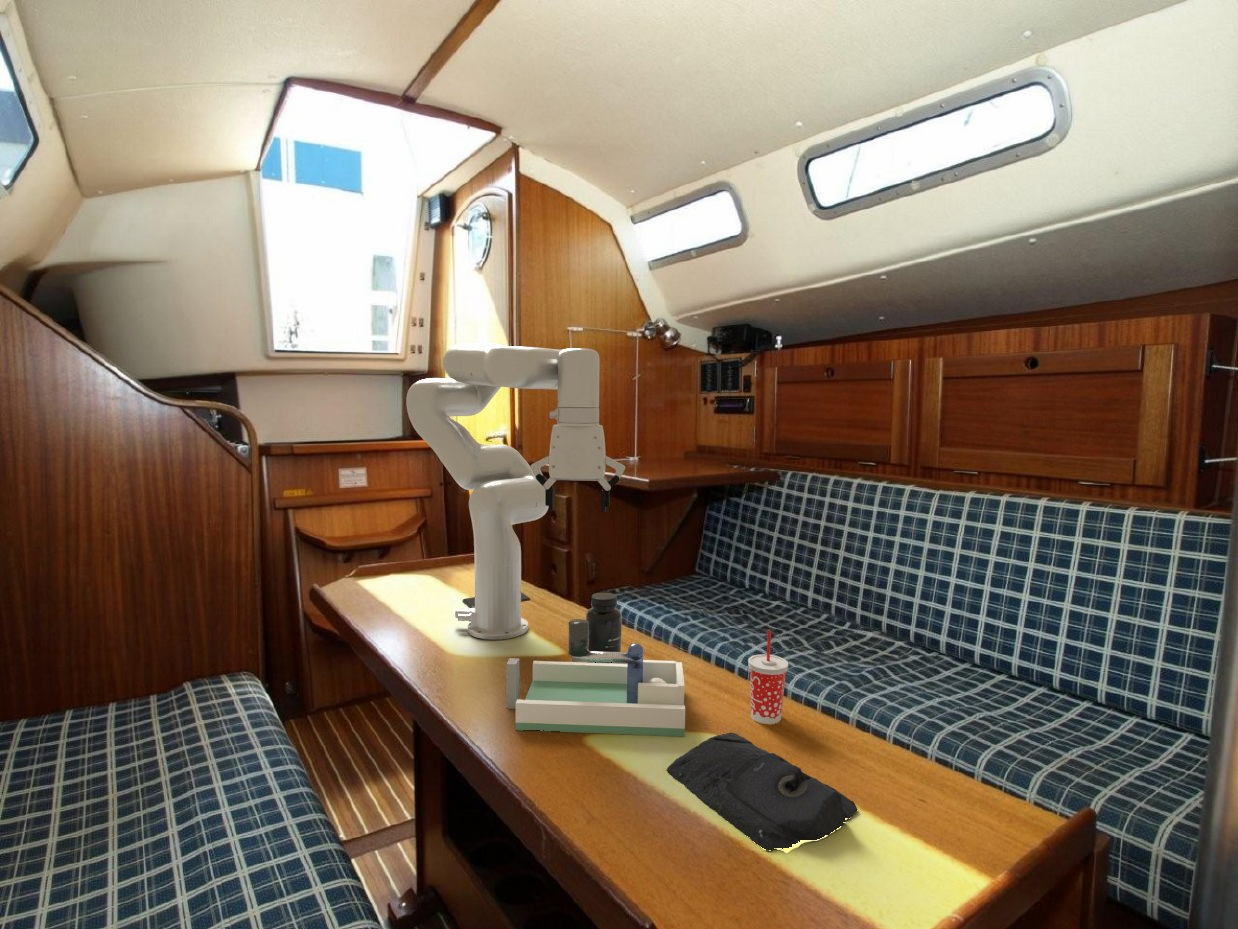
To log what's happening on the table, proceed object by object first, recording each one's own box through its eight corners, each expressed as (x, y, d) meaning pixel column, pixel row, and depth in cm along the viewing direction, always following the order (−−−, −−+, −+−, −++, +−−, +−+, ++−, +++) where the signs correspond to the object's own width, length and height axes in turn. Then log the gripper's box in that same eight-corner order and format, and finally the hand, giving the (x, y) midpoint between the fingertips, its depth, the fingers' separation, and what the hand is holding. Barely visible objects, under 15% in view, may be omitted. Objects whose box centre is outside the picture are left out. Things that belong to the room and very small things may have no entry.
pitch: (496, 729, 101) (496, 682, 101) (517, 683, 117) (517, 642, 117) (684, 736, 100) (685, 688, 99) (679, 689, 116) (681, 647, 115)
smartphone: (519, 593, 171) (461, 602, 163) (519, 590, 171) (461, 598, 163) (531, 601, 165) (471, 610, 157) (531, 598, 165) (471, 607, 157)
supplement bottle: (617, 666, 126) (618, 602, 124) (581, 662, 127) (581, 599, 126) (624, 652, 132) (625, 592, 131) (589, 649, 134) (590, 589, 132)
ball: (672, 705, 106) (647, 711, 106) (671, 694, 110) (647, 700, 110) (665, 681, 106) (640, 687, 106) (665, 671, 110) (641, 676, 110)
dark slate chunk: (740, 741, 100) (742, 710, 100) (869, 820, 82) (871, 783, 81) (657, 771, 92) (657, 738, 91) (779, 867, 73) (781, 826, 73)
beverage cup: (743, 707, 110) (746, 623, 108) (781, 708, 110) (785, 624, 108) (749, 726, 104) (752, 637, 102) (789, 727, 103) (793, 638, 102)
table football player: (566, 706, 106) (566, 628, 105) (570, 689, 112) (571, 615, 110) (642, 708, 105) (644, 630, 104) (643, 691, 111) (644, 618, 110)
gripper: (527, 417, 121) (527, 513, 123) (625, 419, 120) (623, 515, 122) (534, 416, 128) (534, 506, 130) (626, 417, 127) (625, 508, 129)
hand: (577, 510), depth 126 cm, fingers open, 9 cm apart
